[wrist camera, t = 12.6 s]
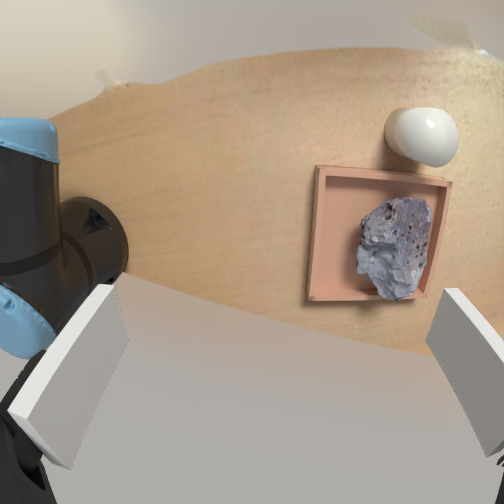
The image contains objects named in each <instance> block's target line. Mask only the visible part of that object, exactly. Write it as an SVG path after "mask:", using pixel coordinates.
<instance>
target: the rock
mask: <svg viewBox="0 0 504 504" xmlns="http://www.w3.org/2000/svg"><path fill="white" fill-rule="evenodd" d="M431 214H432V210H431V208H430V207H429V206H428V205H427V202H426V200H425V198H420V199H415V198H412V197H410V198H406V197H402V198H395V199H390V200H386V201H385V202H384V203H383V204H381V205H380V206H378V207H377V208H376V209H374V210H373V211H372V212H371V213H370V214H369V215H365V217H364V218H363V219H362V220H361V223H360V230H359V232H360V240H361V242H360V243H359V245H358V247H357V250H356V258H357V260H356V272H357V274H358V275H359V274H365V273H366V272H367V273H368V276H369V278H370V279H371V281H372V283H373V284H374V285H375V286H376V288H377V292H378V294H379V295H380V296H381V297H383V298H387V299H388V300H391V301H394V300H396V301H398V302H399V301H400V300H401V298H404V297H409V296H410V295H411V294H412V293H414V292H415V291H416V289H417V286H418V280H419V279H420V277H421V275H422V272H423V269H424V267H425V266H426V265H427V250H426V248H425V247H426V245H427V244H428V242H429V230H430V227H431V223H432V222H431Z"/></svg>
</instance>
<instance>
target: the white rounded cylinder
mask: <svg viewBox="0 0 504 504" xmlns="http://www.w3.org/2000/svg"><path fill="white" fill-rule="evenodd" d="M384 134H385V139H386V142H387V144H388V146H389V147H390V148H391V150H392V151H393V152H395V153H396V154H398V155H400V156H402V157H405V158H408V159H411V160H414V161H417V162H420V163H423V164H425V165H428V166H431V167H441V166H444V165H446V164H447V163H449V162H450V161H451V160H452V159H453V157H454V156H455V154H456V151H457V148H458V140H459V138H458V131H457V128H456V125H455V123H454V121H453V120H452V118H451V117H450V116H449V115H448V114H447V113H446V112H444V111H443V110H441V109H438V108H399V109H396V110H394V111H393V112H392V113H391V114H390V115H389V116H388V118H387V120H386V122H385V127H384Z"/></svg>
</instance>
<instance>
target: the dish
mask: <svg viewBox="0 0 504 504" xmlns="http://www.w3.org/2000/svg"><path fill="white" fill-rule="evenodd" d="M451 188H452V182H451V181H449V180H447V179H444V178H442V177H435V176H428V175H421V174H413V173H405V172H396V171H386V170H376V169H365V168H353V167H340V166H324V165H315V184H314V200H313V215H312V228H311V241H310V253H309V264H308V274H307V284H306V293H307V297H308V301H349V300H388V299H387V298H383V297H381V296H380V295H379V294H378V292H377V288H376V286H375V285H374V284H373V283H372V281H371V279H370V278H369V276H368V273H367V272H366V273H365V274H359V275H358V274H357V272H356V260H357V258H356V250H357V247H358V245H359V243H360V242H361V240H360V232H359V230H360V223H361V220H362V219H363V218H364V217H365V215H369V214H370V213H371V212H372V211H373V210H374V209H376V208H377V207H378V206H380V205H381V204H383V203H384V202H385V201H386V200H390V199H395V198H402V197H406V198H410V197H412V198H415V199H420V198H425V200H426V202H427V205H428V206H429V207H430V208H431V210H432V214H431V222H432V223H431V227H430V230H429V242H428V244H427V245H426V247H425V248H426V250H427V265H426V266H425V267H424V269H423V272H422V275H421V277H420V279H419V280H418V286H417V289H416V291H415V292H414V293H412V294H411V295H410V296H409V297H404V298H401V299H414V298H427V295H428V291H429V288H430V284H431V281H432V277H433V274H434V270H435V266H436V262H437V258H438V254H439V250H440V246H441V241H442V237H443V232H444V227H445V222H446V217H447V212H448V206H449V200H450V194H451Z"/></svg>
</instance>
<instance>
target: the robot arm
mask: <svg viewBox="0 0 504 504" xmlns="http://www.w3.org/2000/svg"><path fill="white" fill-rule="evenodd" d="M59 164H60V159H59V158H58V133H57V129H56V127H55V125H54V124H53V123H52V122H51V121H49V120H46V119H40V118H23V117H0V348H2V349H3V350H4V351H6V352H8V353H9V354H11V355H13V356H16V357H18V358H22V359H30V360H29V362H28V363H27V364H26V366H25V367H24V370H22V371H21V373H20V374H19V376H18V379H16V380H15V381H14V383H13V384H12V386H11V387H10V389H9V391H8V392H7V393H6V395H5V396H4V398H3V399H2V401H1V403H0V504H57V503H56V500H55V497H54V494H53V492H52V489H51V486H50V484H49V481H48V478H47V474H46V471H45V468H44V466H43V464H42V462H41V460H40V459H41V457H42V455H43V454H44V455H45V457H46V458H47V459H48V460H49V461H50V462H51V463H53V464H56V465H58V466H61V467H63V468H66V469H69V470H71V467H72V465H73V462H74V460H75V457H76V455H77V452H78V450H79V448H80V445H81V443H82V440H83V438H84V436H85V433H86V431H87V429H88V426H89V424H90V422H91V419H92V417H93V415H94V413H95V410H96V408H97V406H98V404H99V401H100V399H101V397H102V395H103V393H104V391H105V389H106V386H107V384H108V382H109V380H110V378H111V376H112V374H113V372H114V370H115V368H116V365H117V363H118V361H119V359H120V357H121V355H122V353H123V351H124V349H125V347H126V345H127V343H128V341H129V338H128V335H127V331H126V327H125V324H124V320H123V316H122V312H121V308H120V304H119V300H118V295H117V291H116V287H115V285H112V284H113V283H114V282H115V281H116V280H117V278H118V277H119V276H120V275H121V273H122V272H123V270H124V268H125V266H126V263H127V259H128V243H127V239H126V235H125V232H124V230H123V227H122V225H121V224H120V222H119V220H118V219H117V217H116V216H115V215H114V214H113V213H112V211H111V210H110V209H108V208H107V207H106V206H105V205H103V204H102V203H100V202H99V201H97V200H94V199H91V198H88V197H75V198H71V199H69V200H67V201H65V202H63V203H61V204H60V197H59ZM87 297H88V298H87ZM86 298H87V299H86ZM85 299H86V300H85ZM84 300H85V301H84ZM83 302H84V303H83ZM82 303H83V304H82ZM81 304H82V305H81ZM79 307H80V308H79ZM78 308H79V309H78ZM76 311H77V312H76ZM75 312H76V313H75ZM72 316H73V317H72ZM71 317H72V318H71ZM69 320H70V321H69ZM425 341H426V342H427V344H428V346H429V347H430V349H431V351H432V352H433V354H434V356H435V358H436V359H437V361H438V363H439V364H440V366H441V368H442V370H443V372H444V373H445V375H446V377H447V379H448V381H449V382H450V384H451V386H452V388H453V390H454V392H455V393H456V395H457V397H458V399H459V401H460V403H461V405H462V407H463V409H464V411H465V413H466V415H467V417H468V419H469V421H470V423H471V425H472V427H473V429H474V431H475V433H476V435H477V438H478V440H479V442H480V444H481V446H482V449H483V451H484V453H485V455H486V457H489V456H491V455H493V454H495V453H497V452H499V451H501V450H502V449H503V448H504V341H503V340H502V339H501V338H500V336H499V335H498V334H497V333H496V331H495V330H494V329H493V328H492V327H491V325H490V324H489V323H488V322H487V321H486V319H485V318H484V317H483V316H482V315H481V314H480V312H479V311H478V310H477V309H476V308H475V307H474V306H473V305H472V303H471V302H470V301H469V300H468V299H467V298H466V297H465V296H464V295H463V293H462V292H461V291H460V290H459V289H458V288H445V289H444V290H443V293H442V296H441V299H440V302H439V305H438V308H437V311H436V314H435V317H434V319H433V322H432V325H431V328H430V330H429V333H428V335H427V338H426V340H425ZM50 344H52V345H51V346H50V347H49V349H48V350H46V349H47V348H48V346H49V345H50ZM503 460H504V455H503V456H502V457H501V458H500V459H499V460H498V462H497V465H499V464H500V463H501V462H502V461H503ZM502 466H503V467H504V463H503V465H502ZM495 504H504V473H503V477H502V481H501V485H500V488H499V492H498V495H497V499H496V502H495Z"/></svg>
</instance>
